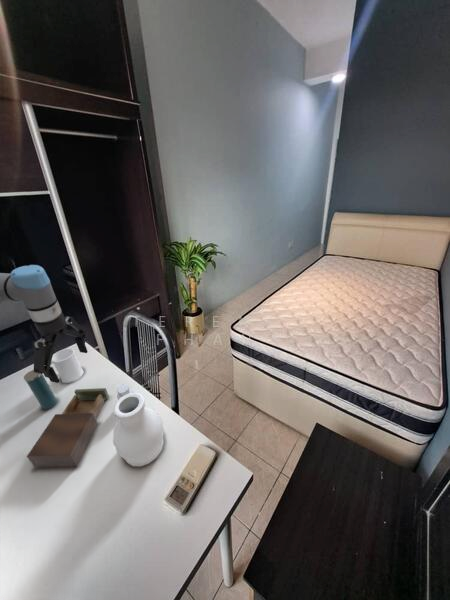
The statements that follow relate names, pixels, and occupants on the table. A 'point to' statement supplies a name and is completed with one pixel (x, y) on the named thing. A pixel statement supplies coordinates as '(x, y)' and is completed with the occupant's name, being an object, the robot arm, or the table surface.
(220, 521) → the table surface
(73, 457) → the drawer cabinet
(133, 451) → the vase
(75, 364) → the mug
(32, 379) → the tin
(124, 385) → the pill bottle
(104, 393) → the drawer
